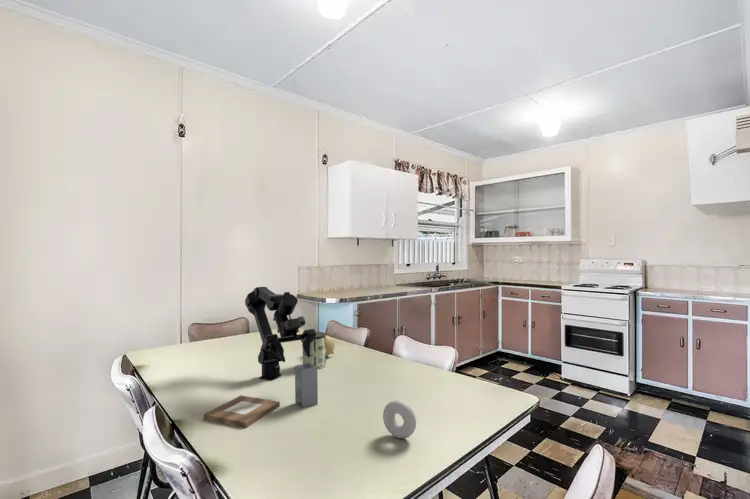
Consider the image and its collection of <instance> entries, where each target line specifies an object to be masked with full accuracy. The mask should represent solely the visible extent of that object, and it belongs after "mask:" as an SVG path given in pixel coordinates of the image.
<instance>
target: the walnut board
mask: <svg viewBox="0 0 750 499" xmlns="http://www.w3.org/2000/svg"><path fill="white" fill-rule="evenodd" d="M280 404H281V403H280V401H276V400H270V399H265V398H259V397H254V396H253V397H251V396H245V395H239V396H237V397H235V398H233V399H231V400H229V401H226V402H225V403H223V404H220V405H219V406H217V407H216V408H214V409H212V410H210V411H208V412H206V413H204V414H203V420H206V421H211V422H216V423H221V424H224V425H225V424H226V425H231V426H235V427H241V428H245V429H246V428H249V427H250V426H252V425H253V424H255V423H256V422H258V421H259V420H261V419H263V418H264V417H266V416H267V415H269V414H270V413H272V412H274V411H275V410H276V409H278V408H280V407H281V405H280Z"/></svg>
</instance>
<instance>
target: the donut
mask: <svg viewBox="0 0 750 499" xmlns="http://www.w3.org/2000/svg"><path fill="white" fill-rule="evenodd" d="M396 414H397V415H400V417H401V418H402V420H403V423H402V424H400V423H399V422H398V421H397V419H396ZM382 419H383V424H384V426H385V428H386V429H387V431H388V433H390V434H391V435H392V436H393V437H396V438H397V439H402V440H403V439H407V438H409V437H411V436H413V434H414V432H415V430H416V429H417V428H416V427H417V417H416V415H415V412H414V410H413V409H412V407H411V406H410V405H409V404H408V403H406V402H405V401H403V400H399V399H395V400H391V401H388V403H387V404H386V405H385V406H384V409H383V412H382Z"/></svg>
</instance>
